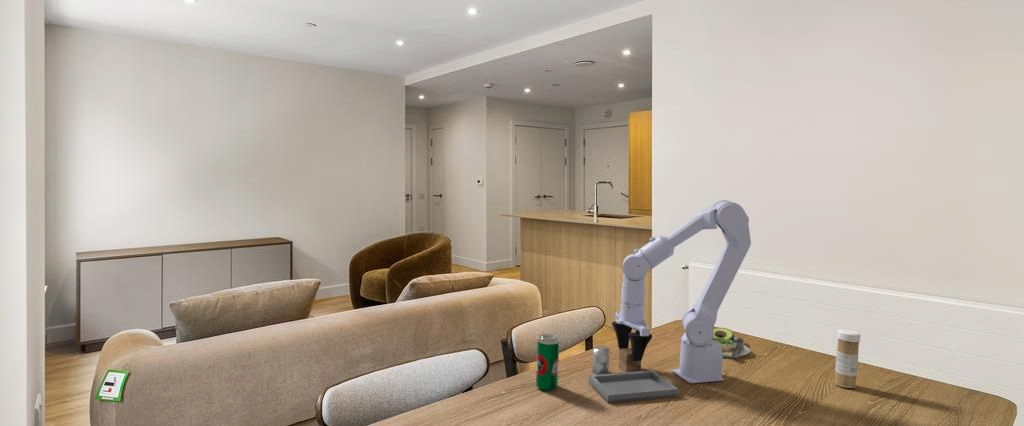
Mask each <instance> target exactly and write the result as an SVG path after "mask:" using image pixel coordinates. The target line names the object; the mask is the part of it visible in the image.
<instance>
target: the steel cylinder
mask: <svg viewBox="0 0 1024 426" xmlns="http://www.w3.org/2000/svg"><path fill="white" fill-rule="evenodd" d="M591 367H592V373H593V375H600V374H610V373H609V371H610V370H609V369H610V348H609V347H607V346H603V345H602V346H601V345H599V346H598V345H597V346H594V347H593V348H592V366H591Z"/></svg>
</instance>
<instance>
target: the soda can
mask: <svg viewBox="0 0 1024 426" xmlns="http://www.w3.org/2000/svg"><path fill="white" fill-rule="evenodd" d="M559 355H560V341H559V338H558V336H557V335H556V334H552V333H542V334H539V336H538V339H537V341H536V366H535V368H536V373H535V386H536V387H537V389H538V390H540V391H543V392H544V391H545V392H551V391H555V390H556V389H557V388H558V386H559V385H558V384H559V364H560V363H559V360H560V358H559V357H560V356H559Z"/></svg>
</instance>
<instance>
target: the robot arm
mask: <svg viewBox="0 0 1024 426" xmlns="http://www.w3.org/2000/svg"><path fill="white" fill-rule="evenodd" d="M749 221H750V219H749V216H748V214H747V213H746V211H745V209H744V208H743V206H741V205H740V203H737V202H733V201H730V200H727V199H722V200H719V201H717V202H715V203H714V204H713V205H710V206H708V207H706V208H705V209H703V210H701V211H699V212H698V213H697V214H695V215H693V217H691V218H690V219H688V220H687V221H686V222H685V223H683V224H681V225H680V226H679V227H678V228H676V229H675V230H673V231H672V232H671V233H670V234H669V235H668V234H667V236H665V235H658V236H657V237H655V236H652V237H650V238H649V242H648V243H646V244H645V245H643V246H642V247H641V248H635V249H634V250H633V252H634V253H631V254H628V255H627V256H625V258H624V259H623V262H622V265H621V266H622V271H623V275H622V284H621V295H620V311H615V321H613V322H611V326H612V327H613V329H614V332H615V336H616V340H617V341H616V342H617V346H618V351H620V349H624V348H629V345H630V346H631V347H630V348H632V359H633V361H641V362H642V360H643V357H644V354H645V351H646V348H647V346H648V345H649V343H650V342H651V340H652V339H653V334H651V333H650V327H649V326H648V325H647V323H646V321H645V320H644V319H645V316H644V315H645V301H646V300H645V298H646V284H645V277H646V275H647V274H648V271H649V270H653V269H654V268H656V267H657V266H658V265H660V264H662V263H663V262H665V261H666V260H667V259H669V258H671V257H672V256H674V253H675V252H674V251H675V248H676V247H677V246H679V245H681V244H683V243H684V242H685V241H687V240H688V239H691V238H692V237H693V236H695V235H696V234H698V233H700V232H701V231H703V230H717V229H718V228H719V229H720V231H721V232H722V235H723V237H724V239H725V242H726V244H725V245H724V247H723V249H722V251H721V253H720V255H719V258H718V259H717V262H716V264H715V265H714V268H713V269H712V272H711V274H710V276H709V277H708V280H707V282H706V284H705V286H704V288H703V290H702V291H701V293H700V296H699V298H698V300H696V301H695V303H694V304H693V305H692V306H691V308H690V310H688V311H687V312H686V313H685V314H684V315H683V317H682V321H681V323H682V327H683V329H684V331H685V332H684V333H683V335H682V336H681V337H680V354H679V355H680V356H679V368H673V369H672V370H671V372H673V373H674V374H675V375H677V376H678V377H680V378H681V379H682V380H684V381H685V382H686V383H688V384H699V383H709V382H710V383H711V382H720V381H724V378H723V377H722V373H723V372H722V370H723V359H724V358H723V353H722V349H721V346H720V344H719V343H718V342H717V341H715V340H712V338H713V334H714V332H713V328H714V327H715V325H716V323H717V317H718V312H719V309H720V307H721V305H722V303H723V301H724V299H725V297H726V296H727V293H728V291H729V289H730V287H731V285H732V283H733V281H734V279H735V277H736V275H737V274H738V272H739V269H740V268H741V266H742V264H743V261H744V259H745V257H746V256H747V253H748V251H749V249H750V248H751V245H752V239H751V233H750V227H749V224H750V223H749ZM633 330H635V332H634V331H633ZM632 331H633V332H632Z"/></svg>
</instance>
